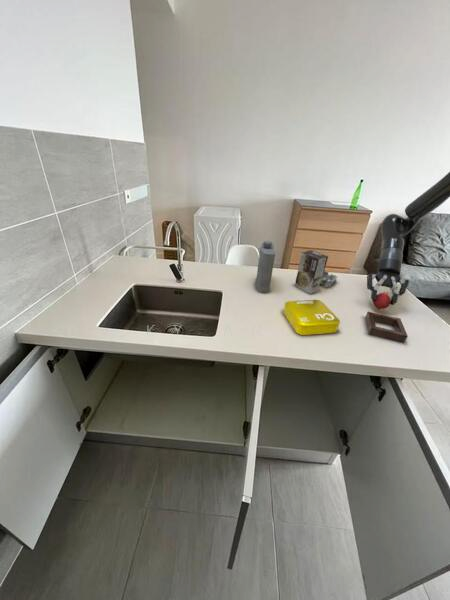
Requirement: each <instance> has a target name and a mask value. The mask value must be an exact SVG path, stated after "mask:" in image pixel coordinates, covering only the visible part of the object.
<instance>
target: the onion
mask: <svg viewBox="0 0 450 600" xmlns="http://www.w3.org/2000/svg"><path fill="white" fill-rule="evenodd" d="M388 293H389V292H388V291H384V292H380V293H377V297H376V300H375V301H372V305H373V307H375V308H376V309H377V310H379V311H381V310H385V309H387V308H389V307H390V306H391V297H390V295H389V294H388Z"/></svg>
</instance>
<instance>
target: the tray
mask: <svg viewBox="0 0 450 600" xmlns="http://www.w3.org/2000/svg"><path fill="white" fill-rule="evenodd" d="M364 319H365V325H366V329H367V335H369V336H373V337H377V338H381V339H384V340H385V339H386V340H388V341H394V342H398V343H402V344H405V342H406V341H407V338H408V333H407V331H406V329H405V326H404V324H403V321H402V318H400V317H396V316H391V315H386V314H382V313H377V312H372V311H367V313H366V315H365V317H364ZM376 323H377V324H380V325H386V326H389V327H393V329H389V328H384V327H381V326H377V325H376Z"/></svg>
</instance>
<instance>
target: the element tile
mask: <svg viewBox="0 0 450 600" xmlns="http://www.w3.org/2000/svg"><path fill="white" fill-rule="evenodd" d="M283 314H284V316H285V317H286V319H287V321H288V322H289V324H290V326H291V327H292V328H293V330H294V331H295V333H296V334H298V335H300V336H309V335H310V336H311V335H323V334H334V333H336V332H337V331H338V329H339V326H340V324H341V319H339V317H337V316H336V314H335V313H334V312H333V311H332V310H331V309H330V308H329V307H328V306H327V305H326V304H325V303H324V302H323V301H322V300H320V299H309V300H289V301H285V303H284V307H283Z"/></svg>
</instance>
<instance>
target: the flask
mask: <svg viewBox="0 0 450 600" xmlns="http://www.w3.org/2000/svg"><path fill="white" fill-rule="evenodd" d="M275 258H276V252H275V250H274V243H273V242H272V241H271V240H264V241H263V242H262V243H261V244H260V247H259V255H258V264H257V270H256V279H255V287H256V289H257V291H258V292H259V293H262V294H264V293H265V294H266V293H269V292H270V288H271V283H272V276H273V269H274V263H275Z"/></svg>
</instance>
